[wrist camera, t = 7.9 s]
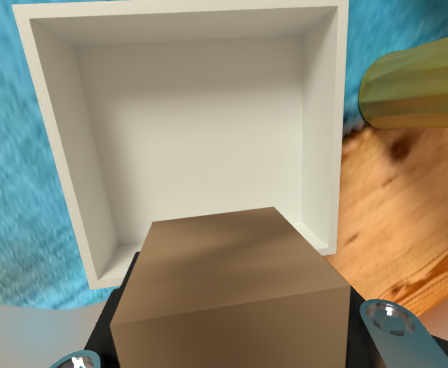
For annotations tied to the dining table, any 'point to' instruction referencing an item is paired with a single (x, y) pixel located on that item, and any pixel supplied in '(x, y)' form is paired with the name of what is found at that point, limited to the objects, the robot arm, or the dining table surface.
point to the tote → (189, 114)
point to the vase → (407, 88)
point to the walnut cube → (231, 297)
